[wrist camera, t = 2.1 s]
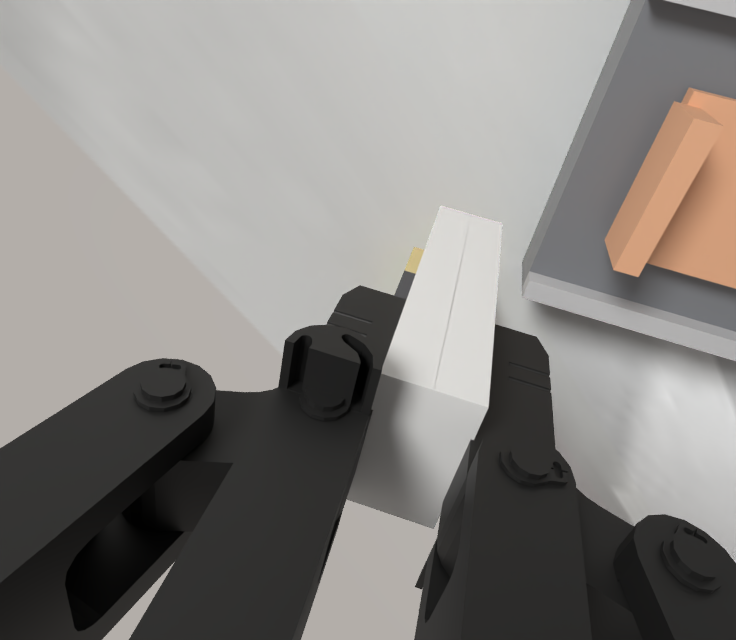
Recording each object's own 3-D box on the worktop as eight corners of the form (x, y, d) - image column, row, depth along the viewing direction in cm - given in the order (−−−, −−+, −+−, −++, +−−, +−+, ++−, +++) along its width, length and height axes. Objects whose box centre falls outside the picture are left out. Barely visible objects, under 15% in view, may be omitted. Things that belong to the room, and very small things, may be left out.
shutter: (675, 83, 21) (702, 103, 18) (858, 130, 20) (918, 159, 17) (597, 242, 25) (607, 280, 22) (748, 285, 24) (781, 331, 21)
